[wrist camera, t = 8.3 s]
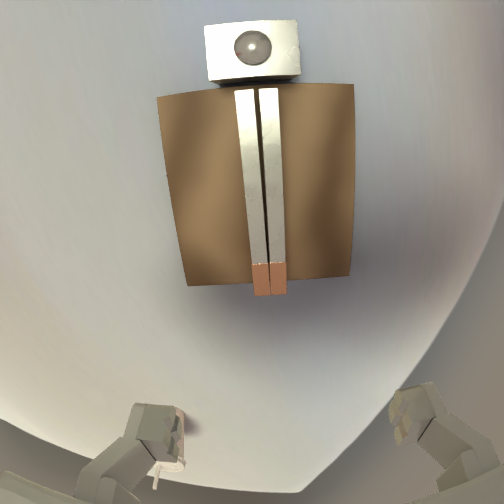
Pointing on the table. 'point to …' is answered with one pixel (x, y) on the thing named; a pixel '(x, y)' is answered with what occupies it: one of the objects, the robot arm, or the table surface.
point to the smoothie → (180, 462)
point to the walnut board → (232, 183)
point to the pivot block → (252, 51)
